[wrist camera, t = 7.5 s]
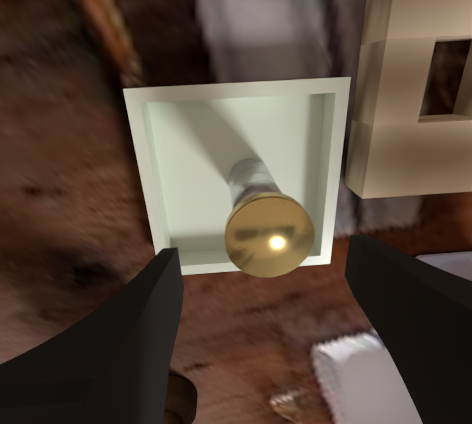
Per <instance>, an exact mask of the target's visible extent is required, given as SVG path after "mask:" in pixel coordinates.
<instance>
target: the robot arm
mask: <svg viewBox="0 0 472 424" xmlns="http://www.w3.org/2000/svg"><path fill="white" fill-rule="evenodd" d="M345 277H346V279H347V282H348V284H349V286H350V289H351V291H352V293H353V295H354V297H355V298H356V300H357V302H358V303H359V305H360V307H361V308H362V310H363V311H364V313H365V315H366V316H367V318H368V319H369V321H370V322H371V324H372V326H373V327H374V329H375V330H376V332H377V333H378V335H379V336H380V338H381V340H382V341H383V343H384V345H385V346H386V348H387V350H388V351H389V353H390V355H391V357H392V359H393V361H394V363H395V365H396V367H397V369H398V371H399V373H400V375H401V377H402V379H403V381H404V383H405V385H406V387H407V389H408V392H409V394H410V396H411V398H412V400H413V402H414V404H415V406H416V409H417V411H418V413H419V415H420V418H421V420H422V423H423V424H472V251H469V252H455V253H442V254H429V255H419V256H417V257H413V256H410V255H408V254H406V253H404V252H402V251H400V250H398V249H396V248H394V247H392V246H390V245H388V244H386V243H384V242H382V241H380V240H377V239H375V238H373V237H371V236H368V235H366V234H361V235H350V241H349V248H348V255H347V262H346V269H345ZM183 291H184V286H183V279H182V273H181V266H180V260H179V254H178V247H176V248H163V249H162V250H161V251H160V252H159V253H158V254H157V255H156V256H155V257H154V258H153V259H152V260H151V261H150V262H149V263H148V264H147V265H146V267H145V268H144V269H143V270H142V271H141V272H140V273H139V274H138V275H137V276H136V277H135V278H134V279H132V280H131V281H130V282H129V283H128V284H127V285H126V286H125V287H124V288H123V289H122V290H120V291H119V292H118V293H117V294H116V295H115V296H113V297H112V298H111V299H110V300H109V301H107V302H106V303H105V304H103V305H102V306H101V307H99V308H98V309H97V310H95V311H94V312H93V313H91V314H90V315H88V316H86V317H85V318H83V319H82V320H80V321H79V322H77V323H76V324H74V325H73V326H71V327H70V328H68V329H67V330H65V331H63V332H62V333H60V334H58V335H56V336H55V337H53V338H51V339H49V340H48V341H46V342H44V343H42V344H40V345H39V346H37V347H35V348H33V349H31V350H29V351H27V352H25V353H23V354H21V355H19V356H17V357H15V358H13V359H11V360H9V361H7V362H5V363H2V364H0V424H163V418H164V408H165V399H166V390H167V382H168V374H169V367H170V362H171V357H172V352H173V348H174V343H175V339H176V334H177V330H178V325H179V320H180V316H181V311H182V303H183Z"/></svg>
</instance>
